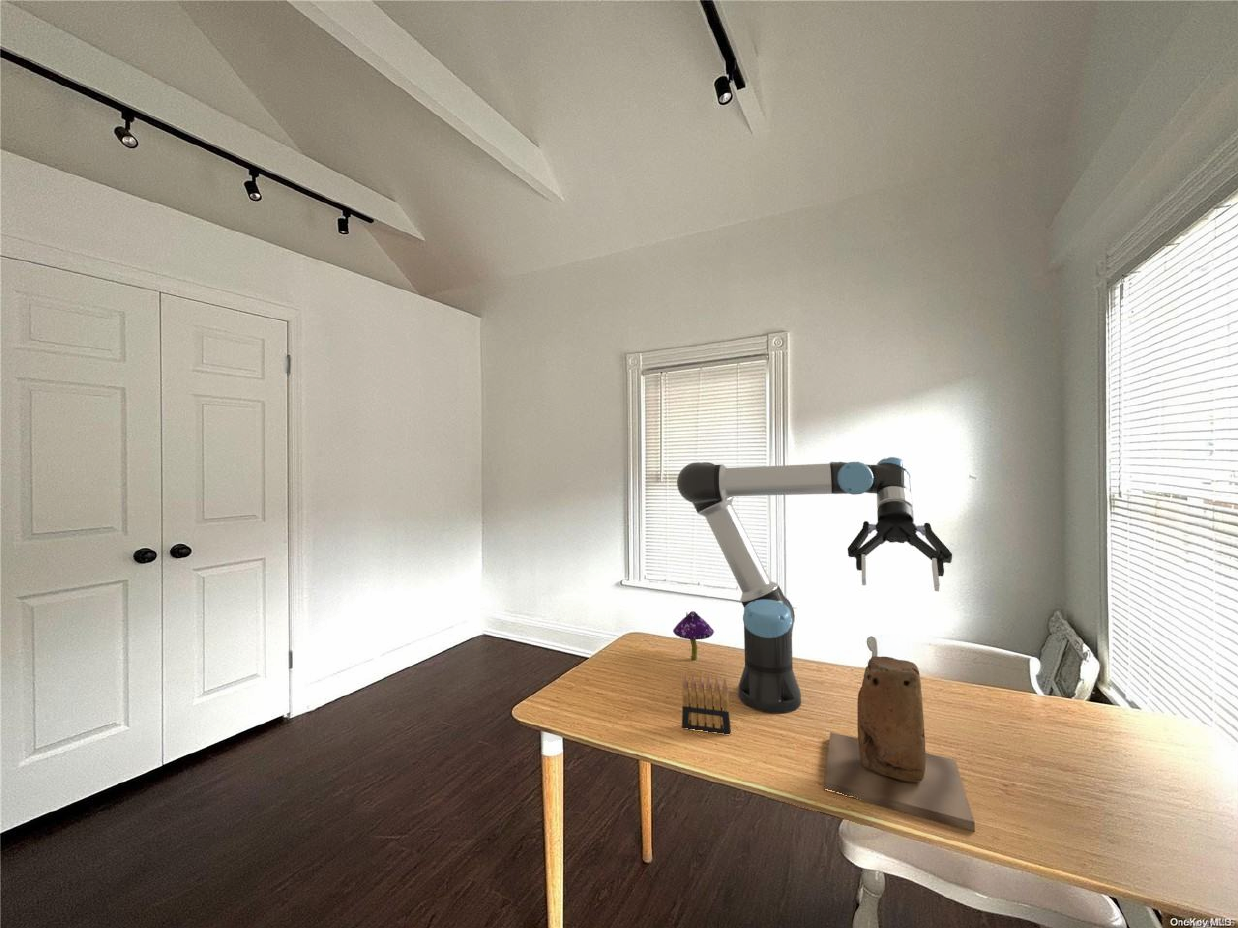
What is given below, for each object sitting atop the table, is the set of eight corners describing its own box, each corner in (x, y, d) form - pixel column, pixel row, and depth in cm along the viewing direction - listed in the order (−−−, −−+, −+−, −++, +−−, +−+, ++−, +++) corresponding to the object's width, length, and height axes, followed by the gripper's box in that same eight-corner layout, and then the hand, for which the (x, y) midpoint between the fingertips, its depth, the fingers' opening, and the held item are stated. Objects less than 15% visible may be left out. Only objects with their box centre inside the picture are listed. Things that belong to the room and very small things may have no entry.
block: (922, 765, 88) (919, 659, 89) (928, 790, 82) (924, 675, 82) (858, 751, 93) (855, 650, 94) (858, 773, 87) (855, 664, 87)
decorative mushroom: (670, 653, 150) (669, 606, 150) (708, 651, 151) (707, 604, 151) (677, 669, 137) (676, 618, 137) (719, 667, 138) (718, 616, 138)
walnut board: (823, 790, 85) (823, 781, 85) (830, 738, 100) (830, 731, 100) (974, 831, 74) (974, 821, 74) (955, 767, 90) (955, 759, 90)
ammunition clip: (681, 728, 106) (680, 675, 106) (683, 724, 107) (681, 672, 108) (730, 735, 103) (729, 680, 103) (730, 731, 104) (729, 676, 105)
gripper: (955, 520, 111) (969, 600, 97) (839, 518, 123) (837, 588, 110) (958, 499, 106) (972, 580, 93) (837, 499, 118) (834, 570, 105)
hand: (899, 584), depth 101 cm, fingers open, 13 cm apart
